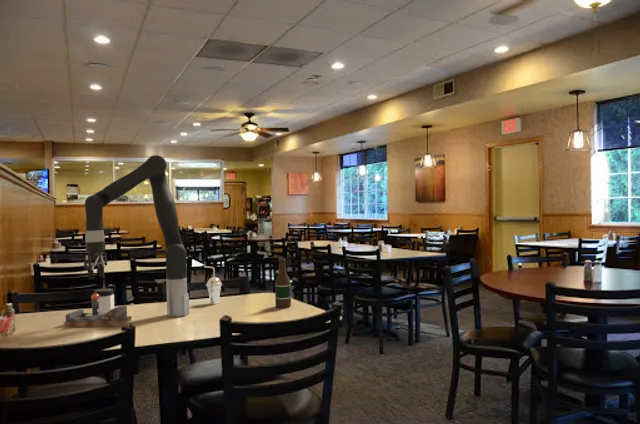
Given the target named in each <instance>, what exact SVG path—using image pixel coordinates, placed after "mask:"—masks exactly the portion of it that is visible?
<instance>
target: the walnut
mask: <svg viewBox="0 0 640 424" xmlns="http://www.w3.org/2000/svg"><path fill="white" fill-rule="evenodd" d="M107 318H109V319H111V310H110V311H108V312H107Z"/></svg>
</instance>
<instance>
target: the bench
mask: <svg viewBox="0 0 640 424" xmlns="http://www.w3.org/2000/svg"><path fill="white" fill-rule="evenodd" d="M90 313H91V312H85V311H84V309H78V310H76V311H75V310H74V311H73V312H69V313H67V314H65V322H64V323H63V324H64V327H65V328H119V327H121V326H123V325H126V324H128V323H129V322H132V316H131V315H128V306H127V305H120V306H119V305H118V306H117V307H114V309H111V319H109V318H107V317H85V315H88V314H90Z"/></svg>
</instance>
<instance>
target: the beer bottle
mask: <svg viewBox="0 0 640 424" xmlns="http://www.w3.org/2000/svg"><path fill="white" fill-rule="evenodd" d="M286 264H287V259H286V258H285V257H283V258H278V273H277V276H276V278H275V283H274V288H275V289H274V290H275V291H274V296H275V297H274V298H275V301H274V302H275V307H276V308H277V307H278V309H287V308H290V307H291V306H292V290H291V288H292V287H291V284H292V283H291V279H290V277H289V276H288V273H287V265H286Z"/></svg>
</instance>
